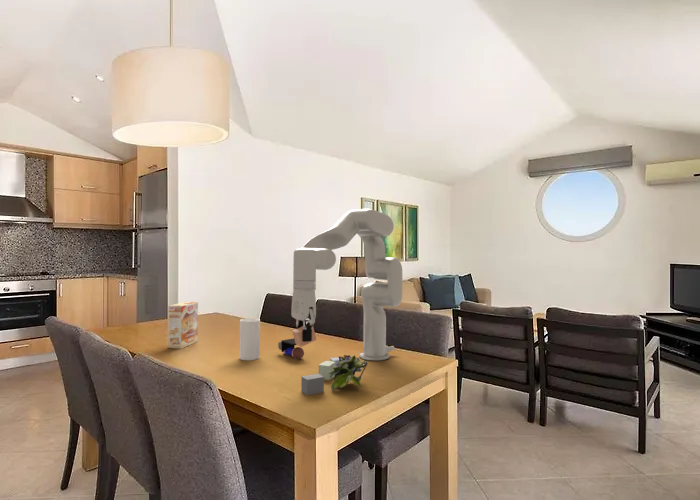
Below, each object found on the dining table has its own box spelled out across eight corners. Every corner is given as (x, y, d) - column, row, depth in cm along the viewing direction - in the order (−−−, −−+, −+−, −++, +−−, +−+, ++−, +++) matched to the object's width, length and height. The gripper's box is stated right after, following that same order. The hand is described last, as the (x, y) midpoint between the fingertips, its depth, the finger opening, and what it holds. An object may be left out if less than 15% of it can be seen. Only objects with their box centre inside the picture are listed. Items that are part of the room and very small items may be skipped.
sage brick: (325, 374, 156) (325, 360, 156) (335, 375, 155) (335, 361, 155) (318, 378, 151) (318, 364, 151) (328, 380, 149) (329, 366, 149)
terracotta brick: (311, 337, 147) (307, 324, 146) (316, 339, 143) (313, 325, 142) (296, 344, 144) (292, 330, 143) (301, 346, 140) (297, 332, 139)
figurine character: (277, 357, 185) (293, 361, 173) (276, 339, 186) (292, 341, 174) (291, 355, 189) (308, 358, 177) (290, 337, 190) (307, 340, 178)
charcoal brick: (317, 388, 140) (317, 373, 140) (323, 392, 137) (323, 376, 137) (301, 392, 137) (301, 376, 137) (307, 395, 134) (307, 379, 134)
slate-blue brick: (345, 370, 162) (345, 356, 162) (348, 373, 158) (348, 359, 158) (330, 371, 161) (330, 357, 160) (332, 374, 157) (332, 360, 157)
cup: (263, 356, 180) (264, 318, 180) (251, 361, 173) (251, 321, 173) (248, 354, 184) (248, 317, 184) (235, 358, 176) (235, 320, 176)
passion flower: (343, 401, 146) (356, 364, 152) (367, 404, 137) (380, 365, 143) (317, 385, 140) (331, 348, 147) (340, 388, 131) (355, 347, 138)
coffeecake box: (181, 348, 193) (181, 305, 193) (167, 348, 194) (167, 305, 194) (198, 341, 208) (198, 301, 208) (185, 341, 209) (185, 301, 209)
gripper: (284, 283, 148) (283, 336, 148) (305, 288, 134) (304, 346, 134) (303, 283, 152) (303, 334, 152) (326, 287, 138) (325, 343, 138)
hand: (303, 339), depth 143 cm, fingers closed on terracotta brick, 3 cm apart
